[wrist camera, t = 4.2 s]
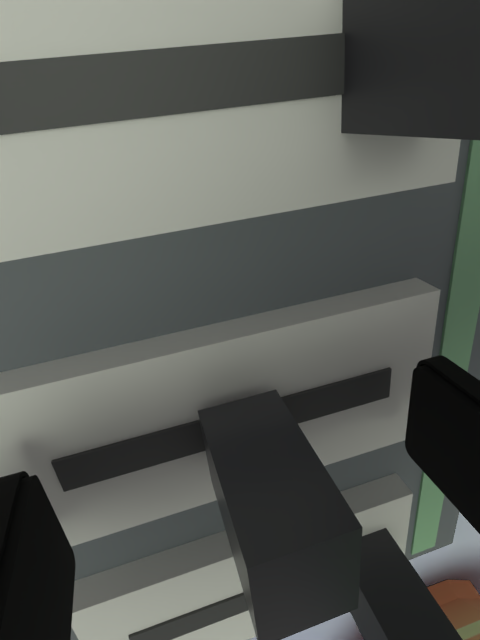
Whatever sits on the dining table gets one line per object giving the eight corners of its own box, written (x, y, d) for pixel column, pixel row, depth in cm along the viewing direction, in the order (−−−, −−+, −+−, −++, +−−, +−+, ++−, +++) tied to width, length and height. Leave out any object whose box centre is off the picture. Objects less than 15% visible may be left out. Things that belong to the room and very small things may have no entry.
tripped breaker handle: (197, 410, 10) (246, 569, 6) (275, 389, 10) (362, 527, 7) (211, 480, 11) (259, 647, 7) (281, 459, 11) (358, 608, 8)
